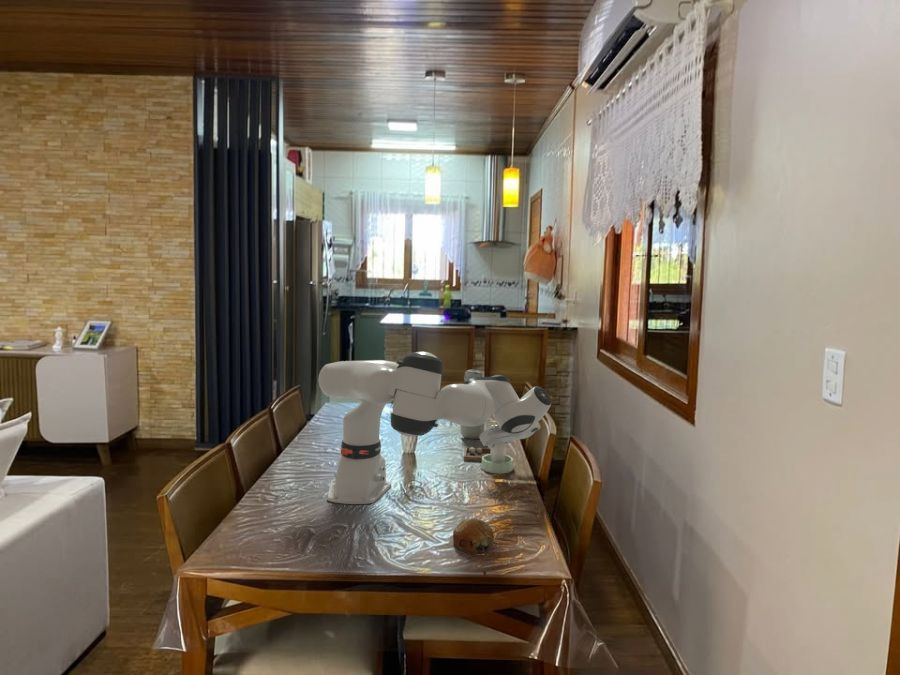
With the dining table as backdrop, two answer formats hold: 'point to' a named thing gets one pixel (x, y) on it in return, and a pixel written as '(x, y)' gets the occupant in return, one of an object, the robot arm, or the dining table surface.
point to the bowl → (497, 465)
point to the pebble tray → (475, 455)
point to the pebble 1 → (472, 450)
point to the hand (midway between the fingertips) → (496, 444)
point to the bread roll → (473, 536)
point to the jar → (498, 453)
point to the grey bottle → (476, 430)
